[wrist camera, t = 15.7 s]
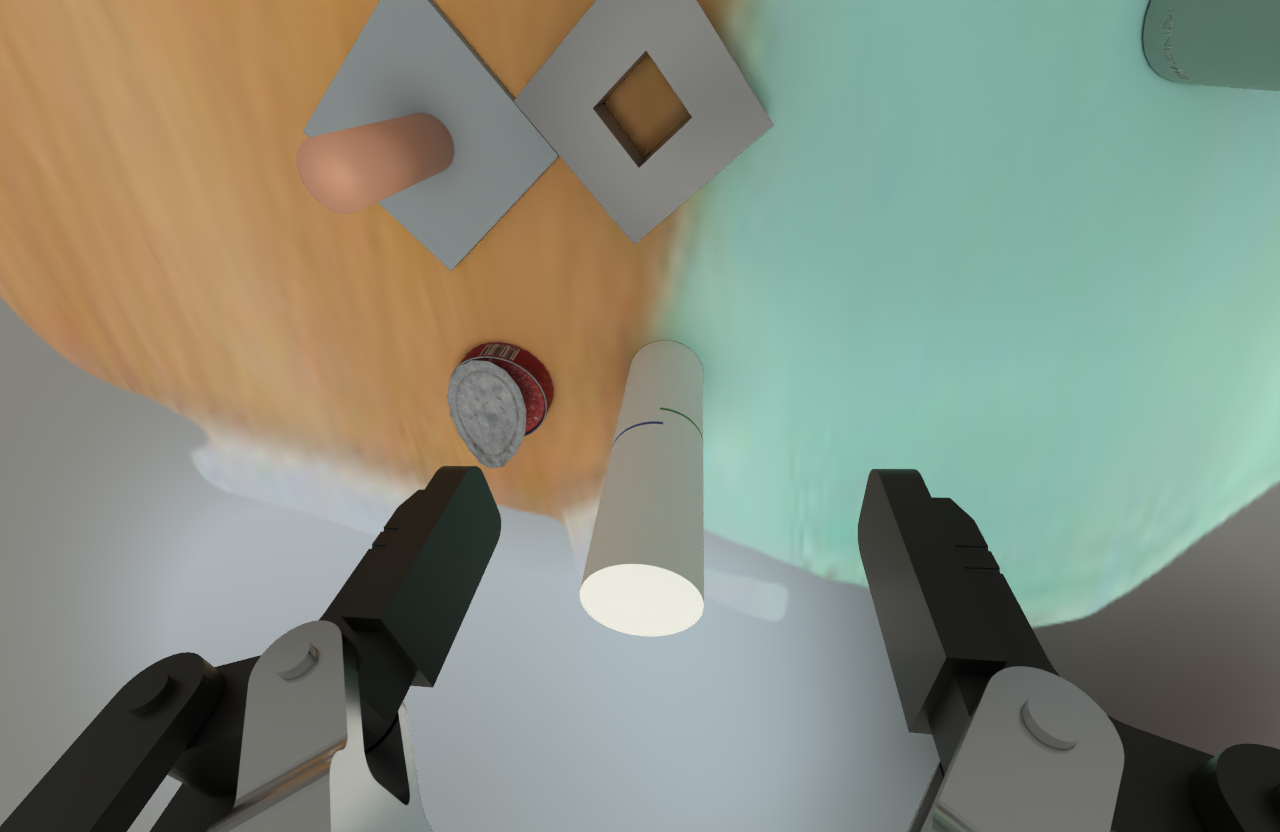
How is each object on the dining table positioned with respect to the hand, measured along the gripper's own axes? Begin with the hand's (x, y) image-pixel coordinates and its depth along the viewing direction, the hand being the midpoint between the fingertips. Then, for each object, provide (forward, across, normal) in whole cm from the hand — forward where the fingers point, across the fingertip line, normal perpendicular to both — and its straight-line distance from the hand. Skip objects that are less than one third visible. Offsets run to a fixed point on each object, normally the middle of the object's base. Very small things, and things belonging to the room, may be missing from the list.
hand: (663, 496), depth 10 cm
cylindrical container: (+34, +4, +18) cm, 38 cm away
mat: (+33, +20, -4) cm, 39 cm away
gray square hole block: (+34, +4, -4) cm, 34 cm away
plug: (+32, +20, -4) cm, 38 cm away
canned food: (+33, +21, +18) cm, 43 cm away
